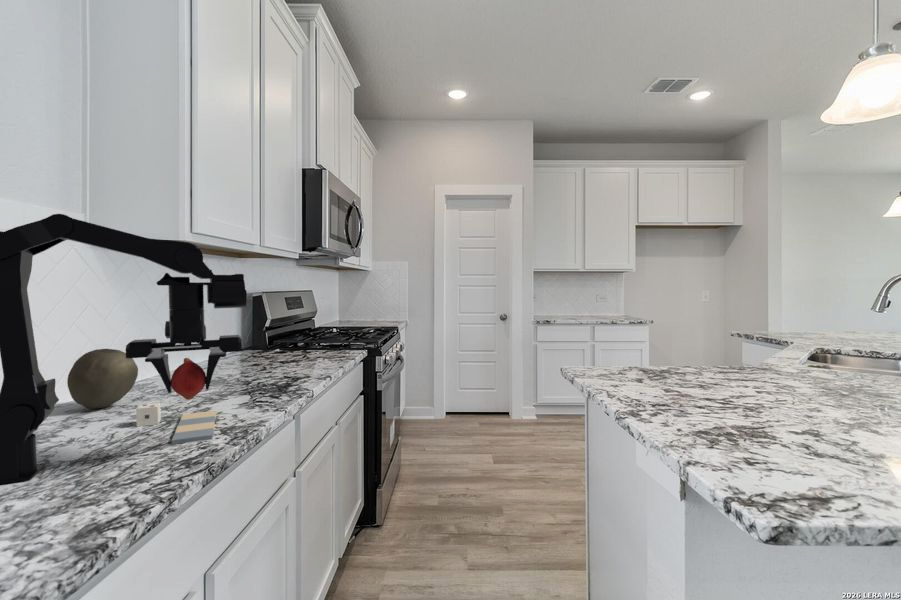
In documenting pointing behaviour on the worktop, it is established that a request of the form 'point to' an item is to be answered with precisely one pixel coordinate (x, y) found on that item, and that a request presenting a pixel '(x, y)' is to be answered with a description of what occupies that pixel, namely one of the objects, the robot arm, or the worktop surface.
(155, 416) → the die
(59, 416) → the worktop surface
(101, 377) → the cantaloupe
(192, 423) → the track
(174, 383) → the onion
